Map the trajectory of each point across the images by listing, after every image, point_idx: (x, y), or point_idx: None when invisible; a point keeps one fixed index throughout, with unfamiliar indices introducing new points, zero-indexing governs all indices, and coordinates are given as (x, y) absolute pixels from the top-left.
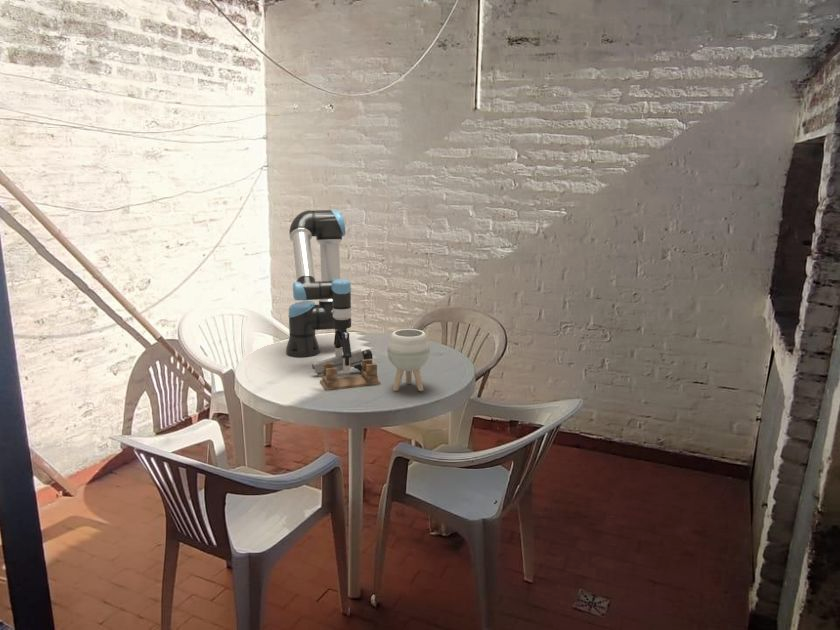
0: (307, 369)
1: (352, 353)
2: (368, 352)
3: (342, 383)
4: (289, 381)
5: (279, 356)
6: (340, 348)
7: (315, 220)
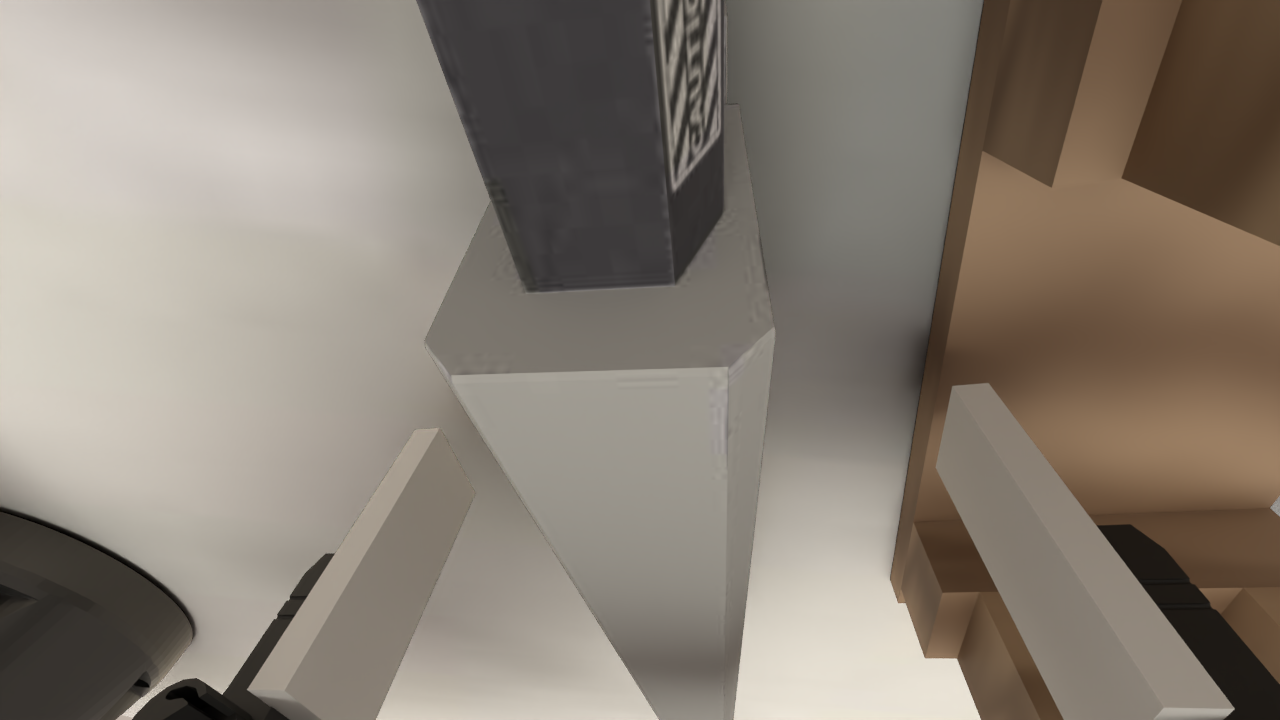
0: (493, 606)
1: (731, 574)
2: None
3: (1184, 456)
4: (772, 698)
5: (217, 680)
6: (307, 702)
7: None
